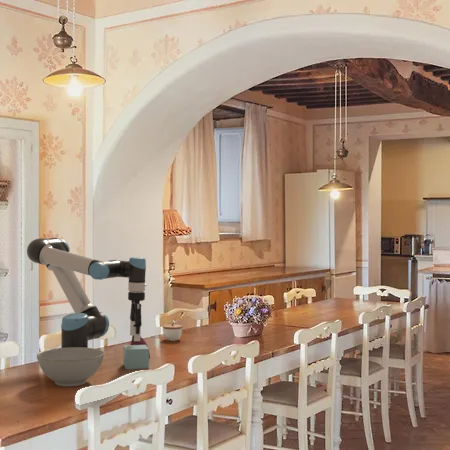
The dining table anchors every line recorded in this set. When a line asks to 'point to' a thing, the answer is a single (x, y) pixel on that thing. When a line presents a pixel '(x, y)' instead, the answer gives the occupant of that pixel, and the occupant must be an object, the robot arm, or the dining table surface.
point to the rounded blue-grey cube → (135, 356)
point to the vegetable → (139, 342)
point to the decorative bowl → (70, 364)
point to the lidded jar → (172, 331)
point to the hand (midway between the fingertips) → (135, 338)
